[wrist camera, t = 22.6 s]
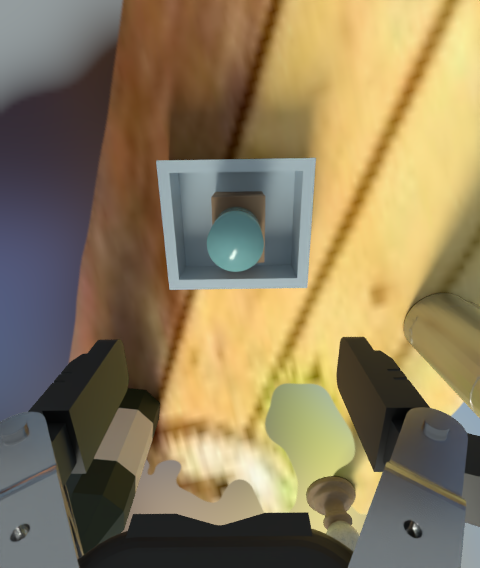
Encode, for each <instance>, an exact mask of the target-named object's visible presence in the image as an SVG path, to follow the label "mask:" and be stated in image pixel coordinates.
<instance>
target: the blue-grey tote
mask: <svg viewBox="0 0 480 568" xmlns="http://www.w3.org/2000/svg"><path fill="white" fill-rule="evenodd" d="M315 163H316V158H283V159H223V160H163V161H156V164H157V173H158V183H159V193H160V202H161V212H162V221H163V231H164V241H165V250H166V260H167V269H168V279H169V288H170V290H183V289H254V288H307V283H308V268H309V253H310V238H311V223H312V208H313V193H314V178H315ZM242 191H262V192H263V194H264V195H265V254H264V263H256V264H255V265H254V266H252V267H251V268H249V269H247V270H244V271H239V272H232V271H227V270H224V269H222V268H220V267H219V266H218V265H216V264H215V263H214V262H213V260H212V259H211V257H210V256H209V253H208V250H207V237H208V234H209V232H210V230H211V228H212V205H211V197H212V196H213V194H214V193H215V192H242Z"/></svg>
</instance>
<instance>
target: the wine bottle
mask: <svg viewBox="0 0 480 568" xmlns="http://www.w3.org/2000/svg"><path fill="white" fill-rule="evenodd" d="M159 409H160V403H159V402H158V401H157V400H156V399H155V398H154V397H153V396H152V395H150V394H149V393H148V392H147V391H146V390H138V389H129V388H127V392H126V394H125V396H124V398H123V400H122V402H121V404H120V406H119V408H118V410H117V412H116V414H115V416H114V418H113V420H112V422H111V424H110V426H109V428H108V430H107V432H106V434H105V436H104V438H103V440H102V442H101V445H100V447H99V449H98V451H97V453H96V455H95V457H94V459H93V461H92V463H91V465H90V467H89V469H88V471H87V473H86V474H70V476H69V478H68V480H67V482H66V487H67V491H68V495H69V498H70V502H71V506H72V510H73V514H74V518H75V522H76V526H77V530H78V534H79V538H80V542H81V545H82V549H83V553H84V554H86V553H87V552H88V551H90V550H91V549H92V548H94V547H95V546H97V545H98V544H100V543H102V542H103V541H105V540H107V539H109V538H111V537H113V536H115V535H118V534H120V533H121V532H122V531H123V530H124V528H125V525H126V521H127V518H128V515H129V512H130V508H131V506H132V503H133V499H134V496H135V493H136V490H137V487H138V483H139V480H140V477H141V474H142V471H143V468H144V465H145V461H146V458H147V455H148V452H149V449H150V446H151V442H152V439H153V436H154V433H155V430H156V427H157V423H158V420H159Z"/></svg>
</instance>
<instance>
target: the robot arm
mask: <svg viewBox="0 0 480 568" xmlns="http://www.w3.org/2000/svg"><path fill="white" fill-rule="evenodd" d="M404 334H405V337H406V339H407V340H408V342H409V343H410V344H411V345H412V346H413V347H414V348H415V349H416V350H417V351H418V352H419V354H420V355H421V356H422V357H423V358H424V359H425V360H426V361H427V362H428V363H429V364H430V366H431V367H432V368H433V369H434V370H435V371H436V372H437V373H438V374H439V375H440V376H441V377H442V378H443V380H444V381H445V382H446V383H447V384H448V385H449V386H450V387H451V388H452V389H453V390H454V391H455V392H456V393H457V395H458V396H459V397H460V398H461V399H462V400H463V401H464V402H465V403H466V404H467V405H468V406H469V407H470V409H472V411H473V412H474V413H475V414H476V415H477V416H478V417H479V418H480V306H478V305H476V304H475V303H473V302H467V301H465V300H464V299H462V298H461V297H459V296H456V295H454V294H450V293H438V294H433V295H430V296H428V297H425V298H424V299H422V300H420V301H419V302H418V303H416V304H415V305H414V306H413V307H412V308H411V310H410V311H409V313H408V314H407V316H406V318H405V322H404ZM128 383H129V375H128V369H127V363H126V357H125V352H124V346H123V343H122V341H121V340H98V341H97V342H96V343H95V345H94V346H93V347H92V348H91V350H90V351H89V352H88V353H87V354H82V355H80V356H79V357H77V358H76V359H74V360H73V361H71V362H70V363H69V364H68V365H67V366H66V368H65V369H64V370H63V371H62V373H61V374H60V375H59V376H58V377H57V378H56V380H55V381H54V383H52V384H51V385H50V386H49V388H48V389H47V390H46V391H45V392H44V394H43V395H42V396H41V397H40V398H39V399H38V401H37V402H36V403H35V404H34V405H33V407H32V408H31V409H30V410H29V411H28V412H24V413H20V414H17V415H14V416H11V417H9V418H7V419H5V420H3V421H2V422H0V568H461V557H462V547H463V536H464V525H465V523H469V524H472V525H475V526H478V527H480V436H477V435H472V434H469V433H467V432H466V431H465V429H464V428H463V426H462V425H461V424H460V423H459V422H458V421H456V420H455V419H454V418H452V417H451V416H449V415H447V414H446V413H443V412H441V411H439V410H436V409H432V408H430V407H429V406H428V404H427V403H426V402H425V400H424V399H423V398H422V397H421V395H420V394H419V393H418V391H417V390H416V389H415V387H414V386H413V385H412V384H411V382H410V381H409V380H407V377H406V376H405V375H404V373H403V372H402V371H400V368H399V367H398V365H397V364H396V363H395V362H394V360H393V359H392V358H390V357H389V356H387V355H386V354H384V353H383V352H382V351H374V350H373V348H372V347H371V346H370V344H369V343H368V341H367V340H366V339H365V338H364V337H342V339H341V341H340V349H339V357H338V366H337V385H338V389H339V392H340V394H341V396H342V399H343V401H344V403H345V406H346V408H347V410H348V413H349V415H350V417H351V419H352V422H353V424H354V426H355V429H356V431H357V433H358V436H359V438H360V440H361V443H362V445H363V447H364V450H365V452H366V454H367V457H368V459H369V461H370V464H371V466H372V468H373V471H374V472H383V473H382V476H381V478H380V481H379V484H378V487H377V489H376V492H375V495H374V498H373V500H372V503H371V506H370V508H369V511H368V514H367V517H366V519H365V522H364V525H363V528H362V531H361V533H360V536H359V538H358V541H357V544H356V547H355V549H354V552H353V551H352V550H351V549H350V548H348V547H347V546H346V545H344V544H343V543H341V542H340V541H338V540H336V539H335V538H333V537H331V536H329V535H327V534H325V533H322V532H320V531H317V530H314V529H311V525H310V520H309V515H308V513H263V514H260V515H256V516H253V517H250V518H246V519H243V520H240V521H236V522H233V523H229V524H226V525H221V526H218V525H213V524H210V523H206V522H203V521H199V520H196V519H192V518H188V517H185V516H181V515H178V514H133V516H132V519H131V523H130V526H129V529H128V531H126V532H123V533H120V534H118V535H115V536H113V537H111V538H109V539H107V540H105V541H103V542H102V543H100V544H98V545H97V546H95V547H94V548H92V549H91V550H90V551H88V552H87V553H86V554H84V553H83V549H82V545H81V542H80V538H79V534H78V530H77V526H76V522H75V518H74V514H73V510H72V506H71V502H70V498H69V495H68V491H67V487H66V482H67V480H68V478H69V476H70V474H86V473H87V471H88V469H89V467H90V465H91V463H92V461H93V459H94V457H95V455H96V453H97V451H98V449H99V447H100V445H101V442H102V440H103V438H104V436H105V434H106V432H107V430H108V428H109V426H110V424H111V422H112V420H113V418H114V416H115V414H116V412H117V410H118V408H119V406H120V404H121V402H122V400H123V398H124V396H125V394H126V392H127V388H128Z"/></svg>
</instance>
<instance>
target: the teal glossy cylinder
mask: <svg viewBox="0 0 480 568" xmlns="http://www.w3.org/2000/svg"><path fill="white" fill-rule="evenodd" d="M263 248H264V239H263V235H262V231H261V227H260V223H259V221H258V219H257V217H256V216H255V215H254V214H253V213H252V212H251V211H250V210H248V209H246V208H243V207H231V208H228V209H226V210H224V211H223V212H221V213H220V214H219V215H218V217H217V218H216V220H215V222H214V224H213V226H212V228H211V230H210V232H209V234H208V237H207V250H208V253H209V256H210V257H211V259H212V260H213V262H214V263H215V264H216V265H218V266H219V267H220V268H222V269H224V270H227V271H232V272H239V271H244V270H247V269H249V268H251V267H252V266H254V265H255V264H256V263H257V262H258V260H259V259H260V257H261V255H262V253H263Z"/></svg>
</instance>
